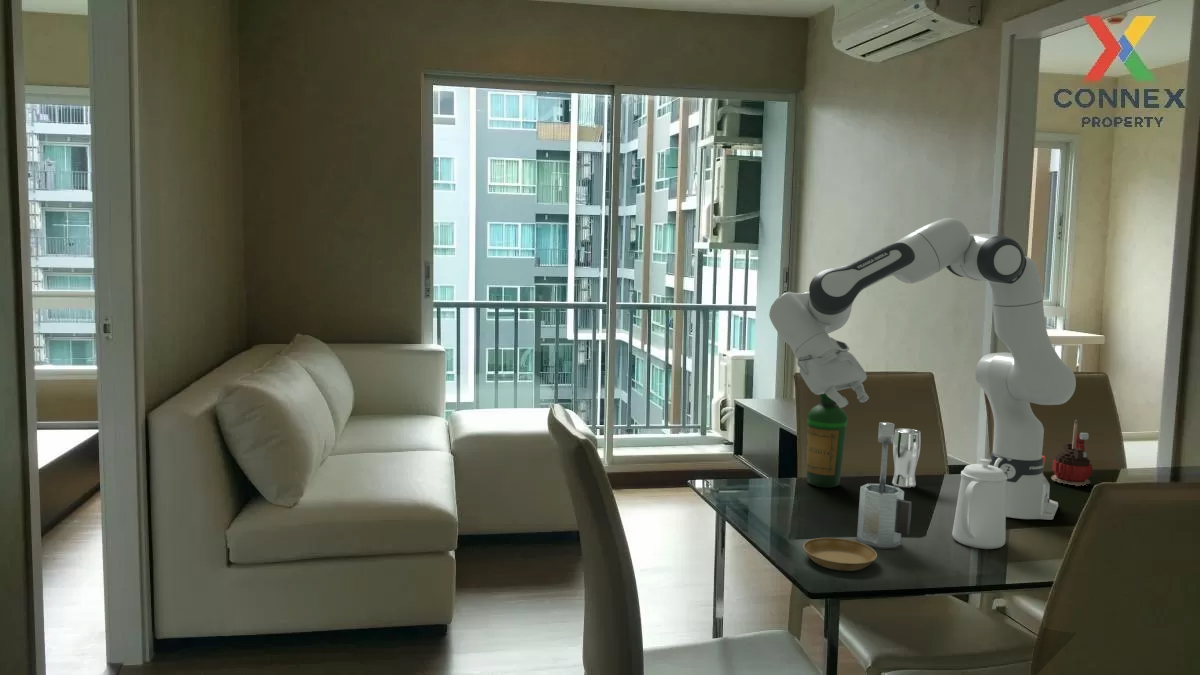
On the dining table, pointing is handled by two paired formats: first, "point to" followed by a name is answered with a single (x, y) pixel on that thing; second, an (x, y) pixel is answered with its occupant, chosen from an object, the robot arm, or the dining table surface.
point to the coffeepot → (981, 506)
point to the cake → (1073, 461)
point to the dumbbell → (884, 449)
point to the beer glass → (905, 456)
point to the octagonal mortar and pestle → (883, 517)
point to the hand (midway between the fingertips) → (855, 403)
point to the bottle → (825, 443)
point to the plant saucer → (839, 553)
